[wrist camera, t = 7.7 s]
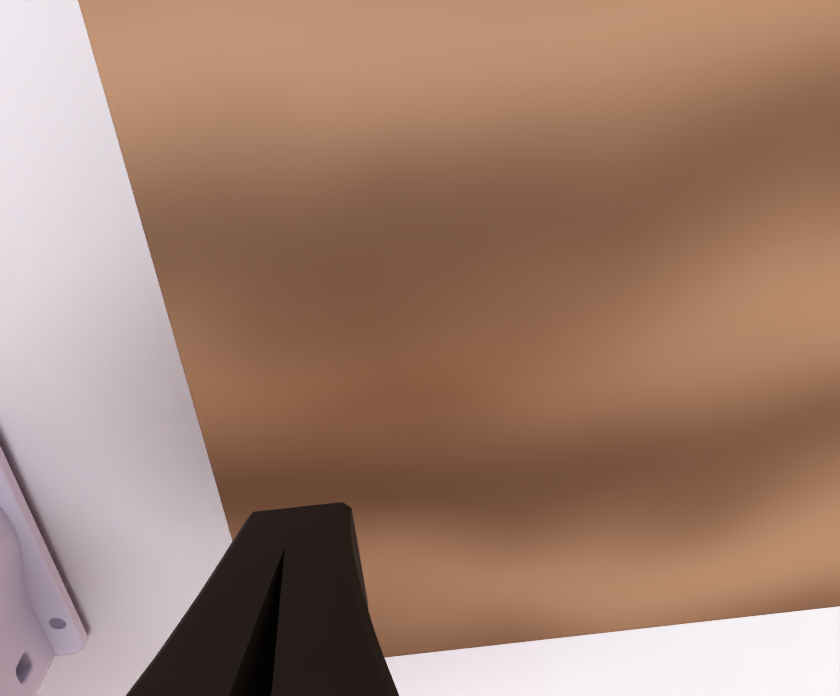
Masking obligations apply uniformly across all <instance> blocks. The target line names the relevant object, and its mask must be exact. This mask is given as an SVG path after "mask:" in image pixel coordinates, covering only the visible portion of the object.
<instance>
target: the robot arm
mask: <svg viewBox="0 0 840 696" xmlns="http://www.w3.org/2000/svg"><path fill="white" fill-rule="evenodd" d="M59 618H60V619H59ZM86 640H87V633H86V631H85V629H84V627H83V625H82V623H81V620H80V618H79V616H78V614H77V612H76V609H75V607H74V605H73V603H72V601H71V599H70V596H69V594H68V592H67V590H66V588H65V586H64V583H63V581H62V579H61V577H60V575H59V572H58V570H57V568H56V566H55V564H54V562H53V559H52V557H51V555H50V553H49V551H48V548H47V546H46V544H45V542H44V540H43V538H42V535H41V533H40V531H39V529H38V527H37V525H36V522H35V520H34V518H33V516H32V514H31V511H30V509H29V507H28V505H27V503H26V501H25V498H24V496H23V494H22V492H21V490H20V487H19V485H18V483H17V481H16V479H15V477H14V474H13V472H12V470H11V468H10V466H9V464H8V461H7V459H6V457H5V455H4V453H3V450H2V448H1V446H0V696H35V695H36V693H37V691H38V689H39V687H40V685H41V683H42V681H43V678H44V676H45V674H46V672H47V670H48V668H49V666H50V664H51V662H52V660H53V658H54V656H58V655H67V654H74V653H77V652H80V651H81V650H82V649H83V647H84V645H85V643H86ZM126 696H399V694H398V692H397V689H396V687H395V684H394V681H393V679H392V676H391V674H390V671H389V669H388V666H387V664H386V661H385V659H384V656H383V653H382V650H381V647H380V645H379V642H378V639H377V636H376V633H375V630H374V627H373V624H372V621H371V618H370V614H369V611H368V600H367V595H366V589H365V583H364V577H363V571H362V565H361V560H360V554H359V548H358V542H357V536H356V530H355V525H354V519H353V513H352V508H351V507H349V506H348V505H346V504H345V503H343V502H338V503H329V504H319V505H310V506H301V507H292V508H283V509H273V510H264V511H255V512H252V513H251V515H250V516H249V517H248V518H247V519H246V521H245V522H244V524H243V525H242V527H241V529H240V530H239V532H238V534H237V535H236V537H235V538H234V540H233V542H232V543H231V545H230V546H229V548H228V550H227V551H226V553H225V554H224V556H223V558H222V559H221V561H220V562H219V564H218V565H217V567H216V569H215V570H214V572H213V573H212V575H211V576H210V578H209V579H208V581H207V582H206V584H205V585H204V587H203V589H202V590H201V592H200V593H199V595H198V596H197V598H196V599H195V601H194V602H193V603H192V605H191V606H190V608H189V609H188V611H187V612H186V614H185V615H184V616H183V618H182V619H181V621H180V622H179V624H178V625H177V627H176V628H175V630H174V631H173V632H172V634H171V635H170V637H169V638H168V640H167V641H166V643H165V644H164V645H163V647H162V648H161V650H160V651H159V652H158V654H157V655H156V657H155V658H154V659H153V661H152V662H151V663H150V665H149V666H148V667H147V669H146V670H145V671H144V672H143V674H142V675H141V676H140V678H139V679H138V680H137V682H136V683H135V684H134V686H133V687H132V688H131V690H130V691H129V692H128V694H127V695H126Z"/></svg>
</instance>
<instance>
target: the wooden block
mask: <svg viewBox="0 0 840 696" xmlns="http://www.w3.org/2000/svg"><path fill="white" fill-rule="evenodd" d="M78 2H79V5H80V9H81V12H82V16H83V19H84V23H85V26H86V30H87V33H88V37H89V40H90V44H91V47H92V51H93V54H94V58H95V61H96V65H97V68H98V72H99V75H100V79H101V82H102V86H103V89H104V93H105V96H106V100H107V103H108V107H109V110H110V114H111V117H112V121H113V124H114V128H115V131H116V135H117V138H118V142H119V145H120V149H121V152H122V156H123V159H124V163H125V166H126V170H127V173H128V177H129V180H130V184H131V187H132V191H133V194H134V198H135V201H136V205H137V208H138V212H139V215H140V219H141V222H142V226H143V229H144V233H145V236H146V240H147V243H148V246H149V250H150V253H151V257H152V260H153V264H154V267H155V271H156V274H157V278H158V281H159V285H160V288H161V292H162V295H163V299H164V302H165V306H166V309H167V313H168V316H169V320H170V323H171V327H172V330H173V334H174V337H175V341H176V344H177V348H178V351H179V355H180V358H181V362H182V365H183V369H184V372H185V376H186V379H187V383H188V386H189V390H190V393H191V397H192V400H193V404H194V407H195V411H196V414H197V418H198V421H199V425H200V428H201V432H202V435H203V439H204V442H205V446H206V449H207V453H208V456H209V460H210V463H211V467H212V470H213V474H214V477H215V481H216V484H217V488H218V491H219V495H220V498H221V502H222V505H223V509H224V512H225V516H226V519H227V523H228V526H229V530H230V533H231V537H232V540H234V538H235V537H236V535H237V534H238V532H239V530H240V529H241V527H242V525H243V524H244V522H245V521H246V519H247V518H248V517H249V516H250V515H251V513H252V512H255V511H264V510H273V509H283V508H292V507H301V506H310V505H319V504H329V503H338V502H343V503H345V504H346V505H348V506H349V507H351V508H352V513H353V519H354V525H355V530H356V536H357V542H358V548H359V554H360V560H361V565H362V571H363V577H364V583H365V589H366V595H367V600H368V611H369V614H370V618H371V621H372V624H373V627H374V630H375V633H376V636H377V639H378V642H379V645H380V647H381V650H382V653H383V656H384V657H393V656H401V655H410V654H419V653H428V652H437V651H446V650H455V649H464V648H473V647H481V646H490V645H499V644H508V643H517V642H526V641H535V640H544V639H552V638H561V637H570V636H579V635H588V634H597V633H606V632H615V631H623V630H632V629H641V628H650V627H659V626H668V625H677V624H686V623H695V622H703V621H712V620H721V619H730V618H739V617H748V616H757V615H766V614H774V613H783V612H792V611H801V610H810V609H819V608H828V607H837V606H840V0H78Z"/></svg>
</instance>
